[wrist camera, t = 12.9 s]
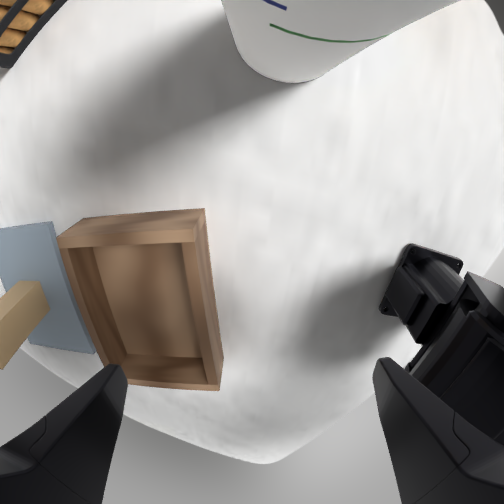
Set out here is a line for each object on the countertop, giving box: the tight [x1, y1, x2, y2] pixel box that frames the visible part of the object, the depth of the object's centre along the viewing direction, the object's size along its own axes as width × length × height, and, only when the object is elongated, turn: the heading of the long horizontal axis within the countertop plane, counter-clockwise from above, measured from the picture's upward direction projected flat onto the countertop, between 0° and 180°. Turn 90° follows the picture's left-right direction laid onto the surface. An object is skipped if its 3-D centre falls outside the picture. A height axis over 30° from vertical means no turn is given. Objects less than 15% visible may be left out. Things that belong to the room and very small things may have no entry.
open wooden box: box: [56, 208, 224, 391], centre depth 22 cm, size 10×14×4 cm
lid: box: [0, 221, 96, 370], centre depth 20 cm, size 10×14×10 cm
